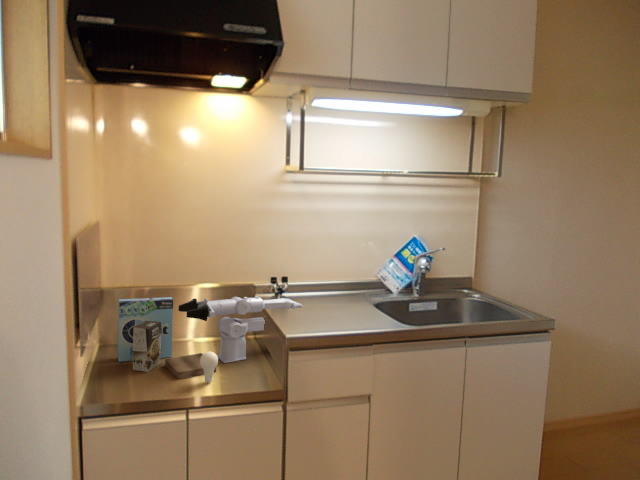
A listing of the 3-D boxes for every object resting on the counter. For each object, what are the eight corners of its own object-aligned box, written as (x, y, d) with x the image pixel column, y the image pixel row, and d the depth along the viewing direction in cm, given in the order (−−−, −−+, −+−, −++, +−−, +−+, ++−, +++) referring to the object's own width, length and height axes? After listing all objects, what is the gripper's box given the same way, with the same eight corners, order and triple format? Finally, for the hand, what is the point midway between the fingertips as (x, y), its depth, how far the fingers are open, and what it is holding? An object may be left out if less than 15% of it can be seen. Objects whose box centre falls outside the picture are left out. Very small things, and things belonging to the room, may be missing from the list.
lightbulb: (208, 387, 170) (209, 356, 169) (195, 383, 174) (196, 352, 172) (221, 382, 176) (222, 351, 174) (208, 377, 179) (209, 347, 177)
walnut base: (201, 359, 195) (201, 353, 195) (215, 372, 184) (216, 365, 183) (165, 365, 187) (165, 359, 187) (178, 379, 176) (178, 372, 175)
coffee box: (148, 372, 180) (148, 328, 178) (132, 370, 181) (132, 326, 179) (161, 363, 189) (162, 321, 187) (145, 361, 190) (146, 319, 188)
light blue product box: (118, 362, 187) (118, 302, 184) (117, 357, 192) (118, 299, 189) (172, 357, 195) (173, 299, 192) (170, 352, 200) (171, 296, 197)
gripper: (210, 292, 196) (176, 295, 188) (226, 302, 185) (191, 306, 177) (208, 310, 197) (175, 313, 189) (225, 321, 186) (190, 325, 178)
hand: (182, 311), depth 183 cm, fingers open, 7 cm apart
